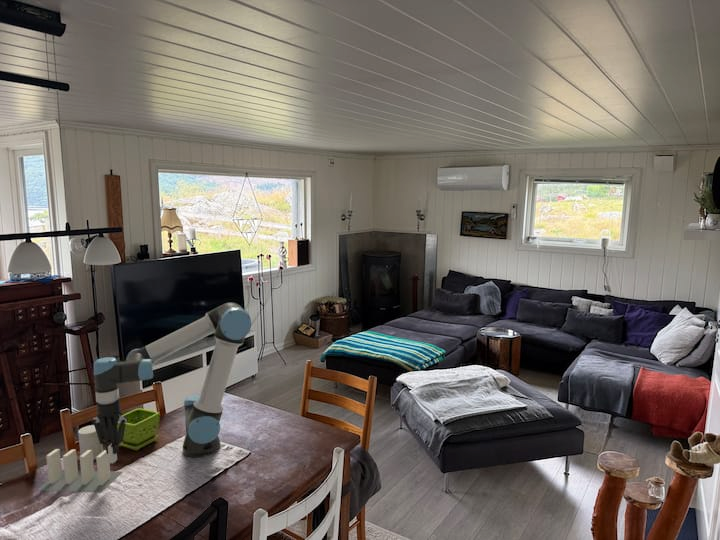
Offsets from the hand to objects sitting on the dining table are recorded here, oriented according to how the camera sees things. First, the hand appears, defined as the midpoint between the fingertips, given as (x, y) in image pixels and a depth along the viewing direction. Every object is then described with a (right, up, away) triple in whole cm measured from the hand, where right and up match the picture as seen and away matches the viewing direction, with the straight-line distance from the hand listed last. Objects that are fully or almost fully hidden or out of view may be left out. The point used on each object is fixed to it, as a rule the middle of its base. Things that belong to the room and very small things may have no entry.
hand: (113, 461), depth 182 cm
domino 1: (-23, -8, +3) cm, 25 cm away
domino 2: (-17, -8, +3) cm, 19 cm away
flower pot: (-5, -5, +31) cm, 32 cm away
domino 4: (-4, -8, +1) cm, 9 cm away
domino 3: (-10, -8, +2) cm, 13 cm away
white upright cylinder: (-19, -6, +21) cm, 29 cm away
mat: (-13, -9, +2) cm, 16 cm away
